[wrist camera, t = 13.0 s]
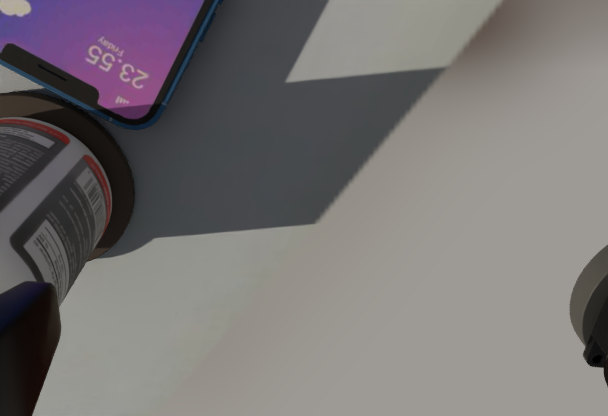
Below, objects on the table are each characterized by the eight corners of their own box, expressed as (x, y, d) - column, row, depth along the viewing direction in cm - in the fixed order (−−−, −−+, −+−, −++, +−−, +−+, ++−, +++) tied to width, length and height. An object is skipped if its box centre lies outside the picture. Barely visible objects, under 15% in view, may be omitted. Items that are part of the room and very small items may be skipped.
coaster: (131, 101, 19) (128, 105, 19) (138, 268, 22) (135, 274, 22) (-77, 82, 19) (-84, 85, 18) (-40, 255, 22) (-45, 260, 22)
